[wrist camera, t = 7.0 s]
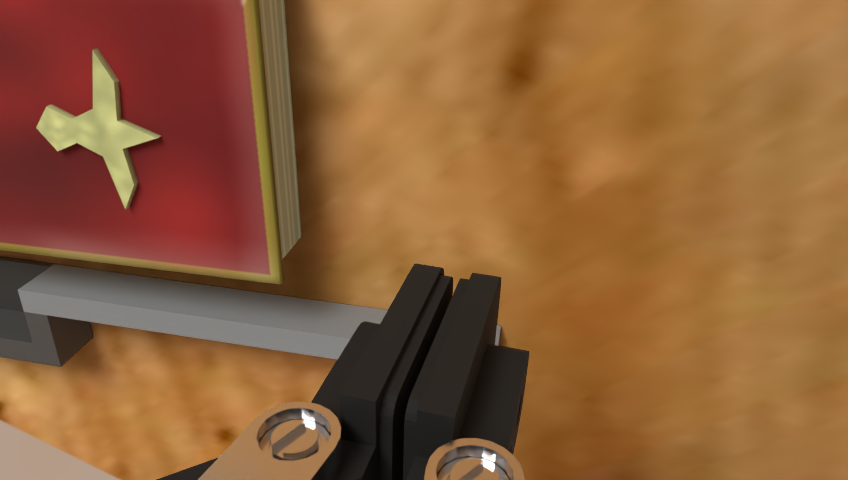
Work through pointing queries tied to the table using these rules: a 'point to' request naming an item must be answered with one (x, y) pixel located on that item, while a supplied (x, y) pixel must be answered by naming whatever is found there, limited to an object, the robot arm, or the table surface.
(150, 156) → the hardcover book
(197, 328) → the grey u-shaped frame
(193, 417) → the table surface
